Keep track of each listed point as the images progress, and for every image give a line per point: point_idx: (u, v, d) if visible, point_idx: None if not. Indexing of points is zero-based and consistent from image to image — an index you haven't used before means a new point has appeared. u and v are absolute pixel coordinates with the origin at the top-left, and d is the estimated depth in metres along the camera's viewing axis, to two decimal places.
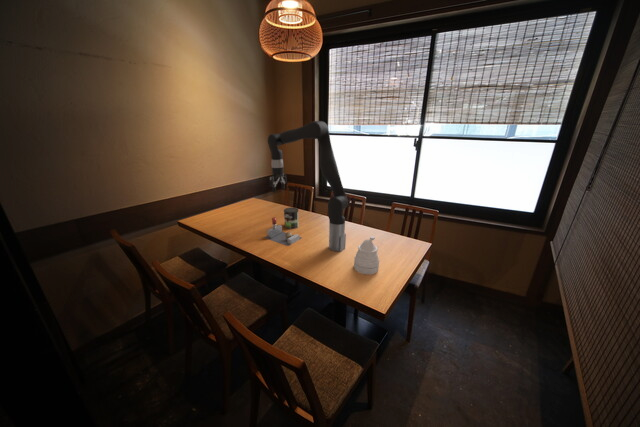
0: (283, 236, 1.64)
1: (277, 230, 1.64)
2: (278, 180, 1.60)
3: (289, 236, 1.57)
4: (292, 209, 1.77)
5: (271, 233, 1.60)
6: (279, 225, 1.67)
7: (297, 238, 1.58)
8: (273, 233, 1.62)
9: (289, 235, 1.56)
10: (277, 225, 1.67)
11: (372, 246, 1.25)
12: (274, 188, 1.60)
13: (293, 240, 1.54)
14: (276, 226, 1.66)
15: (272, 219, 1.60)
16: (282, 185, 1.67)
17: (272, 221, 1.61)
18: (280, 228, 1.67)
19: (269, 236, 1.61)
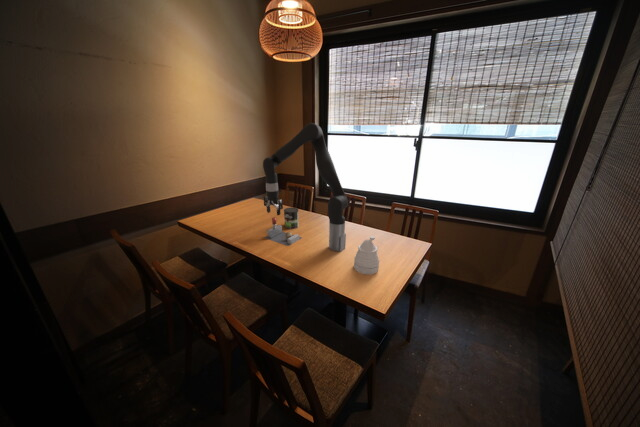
0: (283, 236, 1.64)
1: (277, 230, 1.64)
2: None
3: (289, 236, 1.57)
4: (292, 209, 1.77)
5: (271, 233, 1.60)
6: (279, 225, 1.67)
7: (297, 238, 1.58)
8: (273, 233, 1.62)
9: (289, 235, 1.56)
10: (277, 225, 1.67)
11: (372, 246, 1.25)
12: None
13: (293, 240, 1.54)
14: (276, 226, 1.66)
15: (272, 219, 1.60)
16: (268, 208, 1.61)
17: (272, 221, 1.61)
18: (280, 228, 1.67)
19: (269, 236, 1.61)
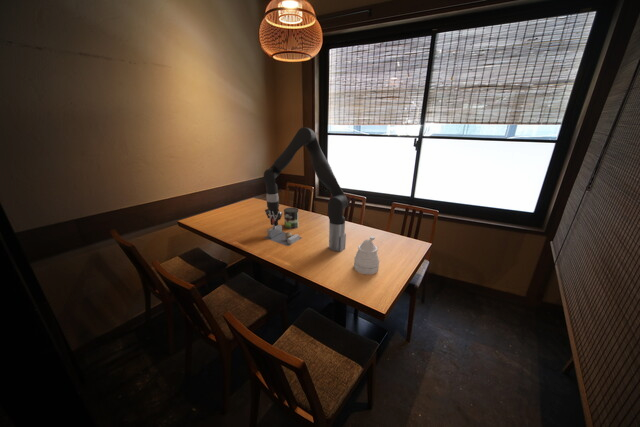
0: (283, 236, 1.64)
1: (277, 230, 1.64)
2: None
3: (289, 236, 1.57)
4: (292, 209, 1.77)
5: (271, 233, 1.60)
6: (279, 225, 1.67)
7: (297, 238, 1.58)
8: (273, 233, 1.62)
9: (289, 235, 1.56)
10: (277, 225, 1.67)
11: (372, 246, 1.25)
12: None
13: (293, 240, 1.54)
14: (276, 226, 1.66)
15: (272, 219, 1.60)
16: None
17: (272, 221, 1.61)
18: (280, 228, 1.67)
19: (269, 236, 1.61)
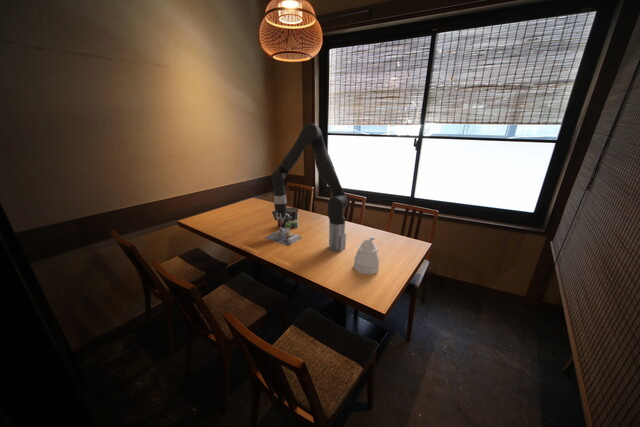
0: None
1: (284, 232, 1.61)
2: None
3: (289, 236, 1.57)
4: (292, 209, 1.77)
5: (278, 236, 1.56)
6: (286, 227, 1.64)
7: (297, 238, 1.58)
8: (280, 235, 1.58)
9: (289, 235, 1.56)
10: None
11: (372, 246, 1.25)
12: None
13: (293, 240, 1.54)
14: (283, 228, 1.62)
15: (279, 221, 1.57)
16: (279, 223, 1.59)
17: None
18: (287, 230, 1.63)
19: (276, 238, 1.57)
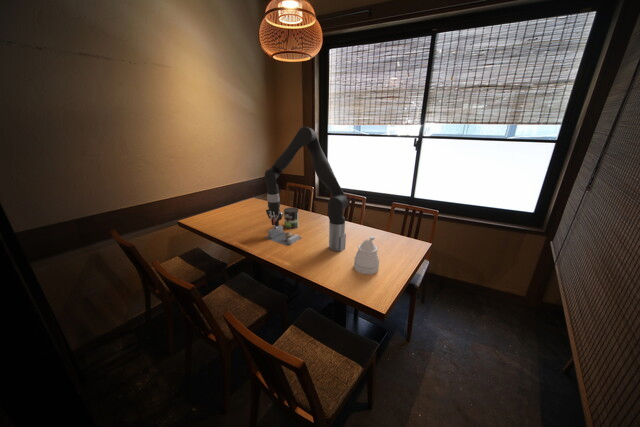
0: (283, 236, 1.64)
1: (278, 230, 1.64)
2: None
3: (289, 236, 1.57)
4: (292, 209, 1.77)
5: (272, 234, 1.59)
6: (280, 225, 1.67)
7: (297, 238, 1.58)
8: (274, 233, 1.61)
9: (289, 235, 1.56)
10: None
11: (372, 246, 1.25)
12: None
13: (293, 240, 1.54)
14: (277, 226, 1.65)
15: (273, 219, 1.60)
16: None
17: (273, 221, 1.61)
18: (281, 228, 1.66)
19: (270, 236, 1.60)
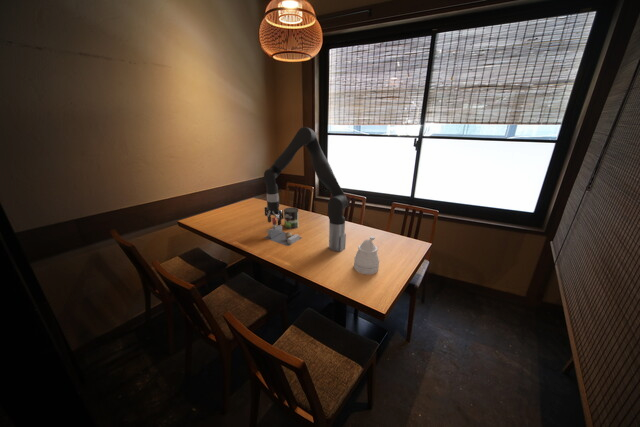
0: (283, 236, 1.64)
1: (277, 230, 1.64)
2: None
3: (289, 236, 1.57)
4: (292, 209, 1.77)
5: (271, 233, 1.60)
6: (279, 225, 1.67)
7: (297, 238, 1.58)
8: (273, 233, 1.61)
9: (289, 235, 1.56)
10: (277, 225, 1.67)
11: (372, 246, 1.25)
12: None
13: (293, 240, 1.54)
14: (276, 226, 1.66)
15: (272, 219, 1.60)
16: (269, 218, 1.63)
17: (272, 221, 1.61)
18: (280, 228, 1.66)
19: (269, 236, 1.60)
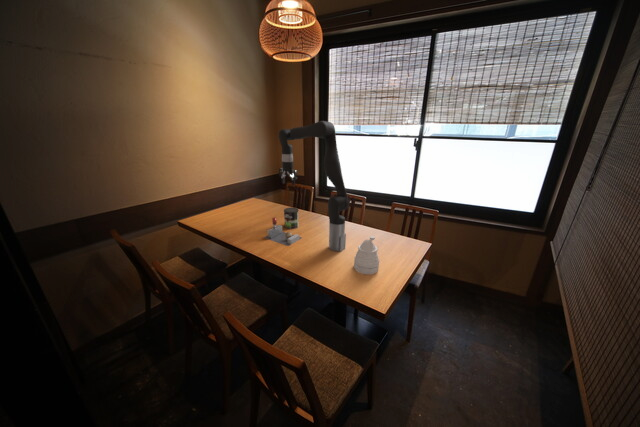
0: (283, 236, 1.64)
1: (277, 230, 1.64)
2: None
3: (289, 236, 1.57)
4: (292, 209, 1.77)
5: (271, 233, 1.60)
6: (279, 225, 1.67)
7: (297, 238, 1.58)
8: (273, 233, 1.61)
9: (289, 235, 1.56)
10: (277, 225, 1.67)
11: (372, 246, 1.25)
12: None
13: (293, 240, 1.54)
14: (276, 226, 1.66)
15: (272, 219, 1.60)
16: (283, 179, 1.72)
17: (272, 221, 1.61)
18: (280, 228, 1.66)
19: (269, 236, 1.60)
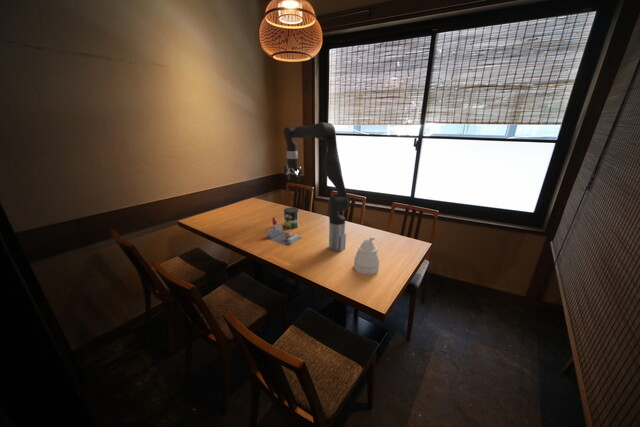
0: (283, 236, 1.64)
1: (277, 230, 1.64)
2: None
3: (289, 236, 1.57)
4: (292, 209, 1.77)
5: (271, 233, 1.60)
6: (279, 225, 1.67)
7: (297, 238, 1.58)
8: (273, 233, 1.61)
9: (289, 235, 1.56)
10: (277, 225, 1.67)
11: (372, 246, 1.25)
12: None
13: (293, 240, 1.54)
14: (276, 226, 1.66)
15: (272, 219, 1.60)
16: (288, 176, 1.77)
17: (272, 221, 1.61)
18: (280, 228, 1.66)
19: (269, 236, 1.60)
